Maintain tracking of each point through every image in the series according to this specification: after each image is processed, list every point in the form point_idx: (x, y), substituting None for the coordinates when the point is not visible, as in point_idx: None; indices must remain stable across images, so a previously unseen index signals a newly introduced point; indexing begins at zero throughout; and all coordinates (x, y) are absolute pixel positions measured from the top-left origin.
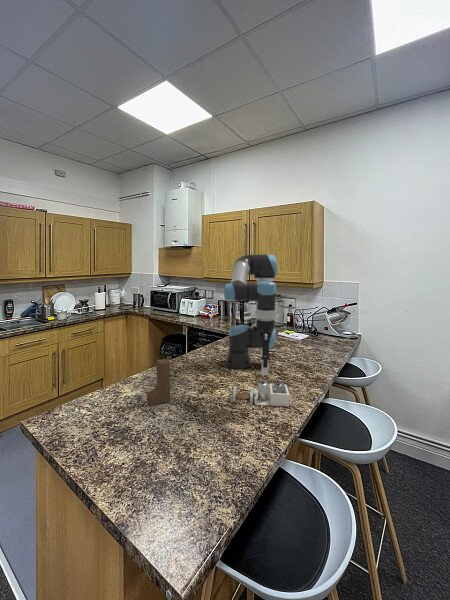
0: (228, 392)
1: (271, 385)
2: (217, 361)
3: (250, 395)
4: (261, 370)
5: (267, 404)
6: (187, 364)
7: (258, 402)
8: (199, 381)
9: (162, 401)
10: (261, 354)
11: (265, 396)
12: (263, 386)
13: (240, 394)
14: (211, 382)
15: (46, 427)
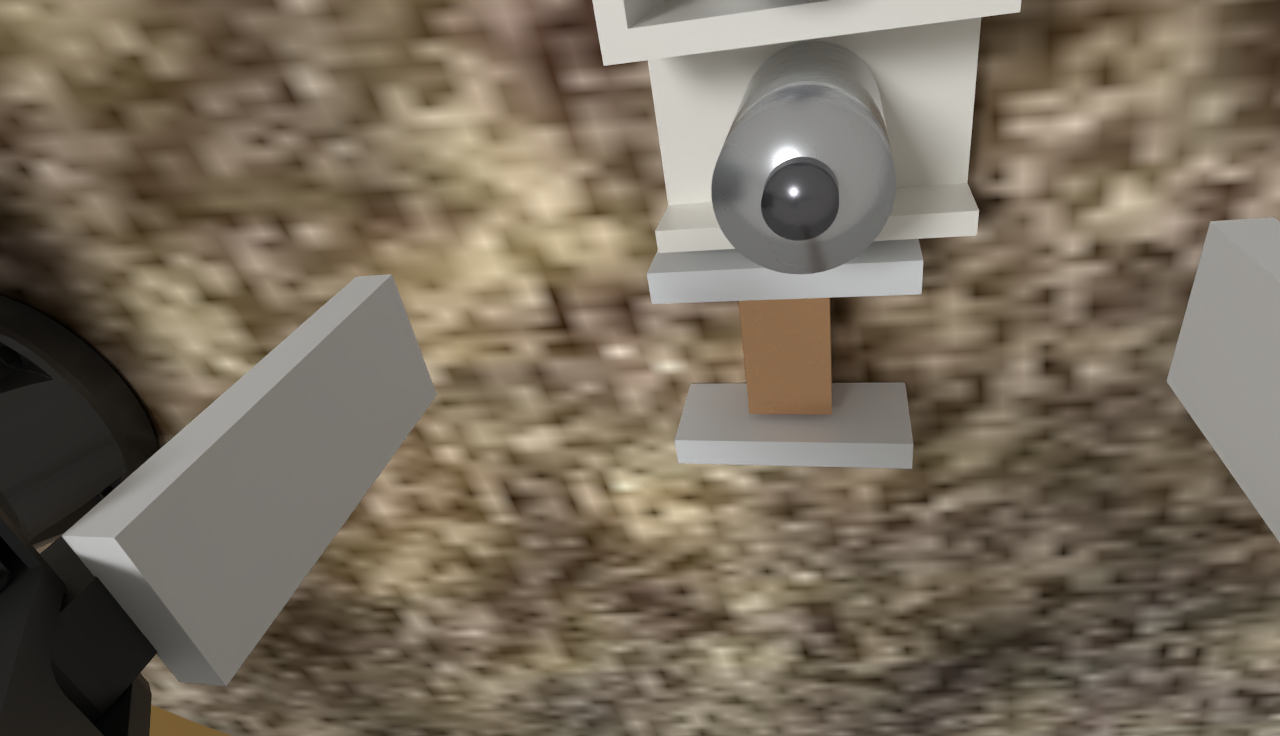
0: (655, 448)
1: (672, 25)
2: None
3: (885, 292)
4: (1228, 441)
5: (964, 35)
6: (299, 703)
7: (912, 162)
8: (530, 636)
9: None
10: (337, 506)
11: (876, 90)
12: (893, 176)
13: (798, 380)
14: (513, 569)
15: None
